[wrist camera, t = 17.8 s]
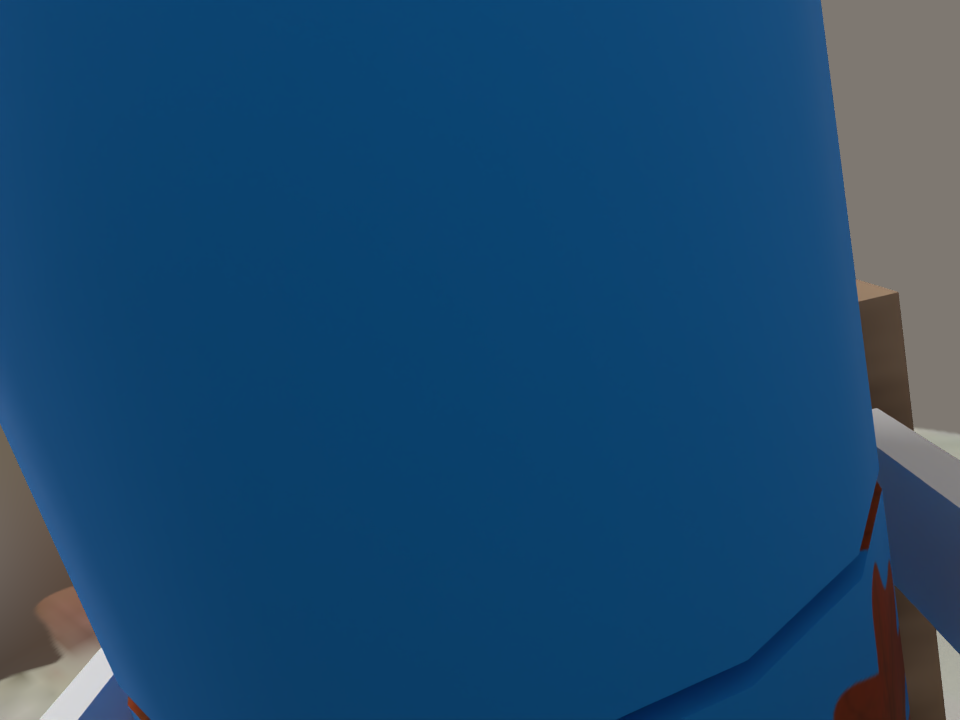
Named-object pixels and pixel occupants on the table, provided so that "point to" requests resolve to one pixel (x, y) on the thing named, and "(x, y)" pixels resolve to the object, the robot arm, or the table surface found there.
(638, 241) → the thermos
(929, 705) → the mount board
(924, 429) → the table surface
